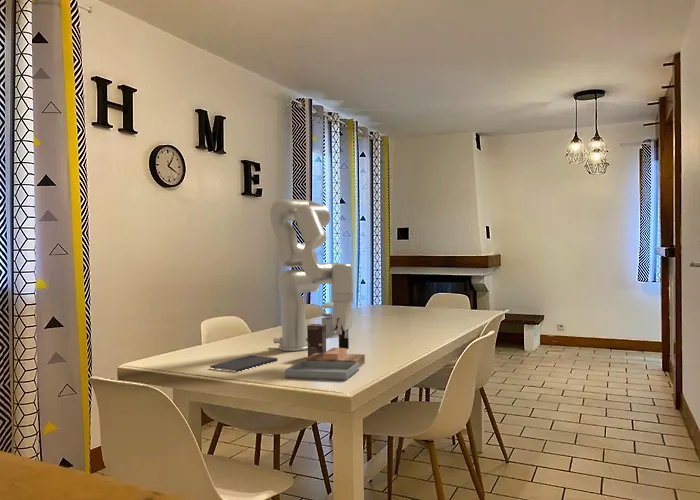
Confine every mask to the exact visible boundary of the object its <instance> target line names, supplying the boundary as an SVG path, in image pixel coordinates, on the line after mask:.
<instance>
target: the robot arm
mask: <svg viewBox="0 0 700 500" xmlns="http://www.w3.org/2000/svg"><path fill="white" fill-rule="evenodd" d="M269 221H270V223H271V227H272V229H273V232H274V235H275V236H274V237H275V244H276V250H277V258H278V260H279V261H278V262H279V263H280V265H281V266H283V267H285V268H295V267H296V268H297V267H301V269H300V268H299V269H287V270H285V271H283V272H282V273H280V274H279V276H278V278H277V279H278V280H277V282H278V283H277V284H278V289H279V293H280V302H281V304H280V305H281V335H282V336H281V337H274V338H273V343H274V344H279V345H278V350H280V351H285V352H300V351H301V352H302V351H305V350H308V343H307V327H306V326H307V322H306V320H307V319H306V302H305V300H304V298H303V296H302V293H313V292H316V291H317V290H319V288H320V286H321V284H322V285H323V284H327V283H332V284H331V299H332V302H331V303H334V304H333V308H332V314H333V318H332V329H333V330H337V329H338V331H337V334H338V337H337V338H338V348H346V349H347V350H348V349H349V348H350V346H349V345H350V343H349V342H350V340H349V339H350V338H349V332H350V328H352V327H353V310H352V309H353V308H352V307H353V306H352V303H353V302H354V286H353V285H354V283H353V281H354V280H353V278H354V277H353V266H352V265H351V264H350V263H338V262H324V263H323V262H321V263H319V262H318V258H317V257H318V255H317V252H316V249H317V248H319V247H320V246H322V245H324V243H325V242H326V240H327V235H326V232H325V231H324V228H323V227H326V226H328V224H329V223H330V221H331V214H330V211H329V209H328V208H327V207H326V206H325V205H324V204H320V203H318V202H315V201H312V200H307V199H294V198H293V199H291V198H283V199H278V200H275V201H274V202H273V203H272V205H271V207H270V210H269ZM290 221H295V222H296V225H297V227H298V229H299V231H300V234H301V237H302V239H303V241H304V243H301V242H298V237H297V233H296V230H295V228H294V226H293V225H292V224H291V223H290Z"/></svg>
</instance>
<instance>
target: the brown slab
mask: <svg viewBox="0 0 700 500" xmlns="http://www.w3.org/2000/svg"><path fill="white" fill-rule="evenodd" d="M365 357H366V355H365V354H360V353H347V354H346V355H344V356H343V357H341V358H340V359H338V360H327V359H323V353H314V354H313V355H311V356H309V357H308V356H307V357H305V358H304V361H328V362H355V363H359V368H360V367H362V366H363V365H365V364H366V360H365Z"/></svg>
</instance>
